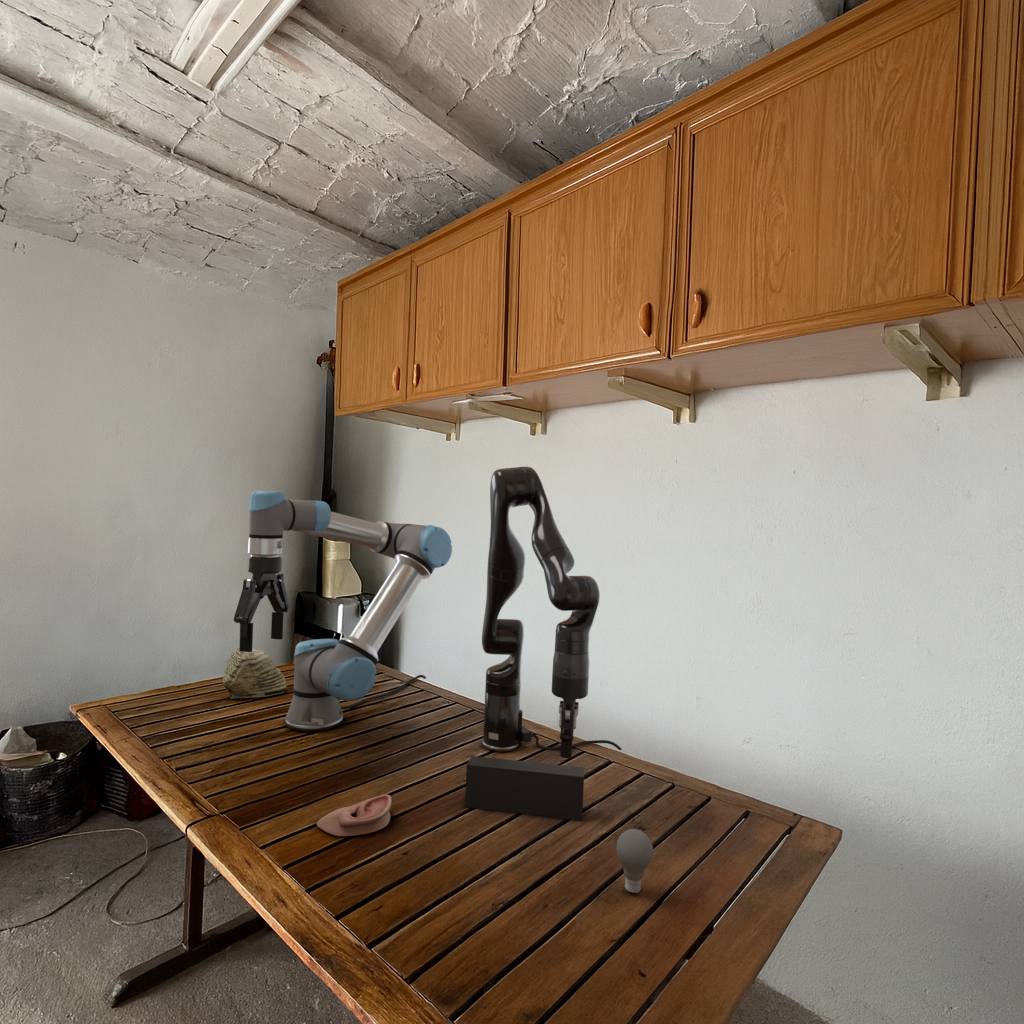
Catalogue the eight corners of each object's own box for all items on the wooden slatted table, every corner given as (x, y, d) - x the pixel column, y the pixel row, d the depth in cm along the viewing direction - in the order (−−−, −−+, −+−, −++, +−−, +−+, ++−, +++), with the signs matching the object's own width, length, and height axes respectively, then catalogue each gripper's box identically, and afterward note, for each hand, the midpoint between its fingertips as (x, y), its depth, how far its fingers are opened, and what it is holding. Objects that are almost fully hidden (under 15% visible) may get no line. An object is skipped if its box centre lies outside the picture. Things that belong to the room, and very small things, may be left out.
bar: (464, 807, 132) (466, 764, 132) (469, 796, 137) (471, 755, 137) (581, 820, 129) (583, 776, 128) (582, 809, 133) (584, 767, 133)
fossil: (218, 695, 195) (220, 647, 195) (278, 685, 208) (279, 640, 207) (228, 703, 189) (230, 653, 188) (289, 692, 201) (290, 645, 201)
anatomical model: (309, 810, 119) (337, 784, 131) (308, 831, 119) (337, 803, 131) (375, 821, 117) (398, 793, 128) (374, 842, 117) (397, 812, 128)
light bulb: (610, 879, 108) (613, 822, 108) (644, 879, 109) (647, 822, 109) (619, 902, 102) (622, 840, 102) (655, 901, 103) (658, 840, 103)
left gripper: (250, 561, 137) (246, 658, 138) (305, 552, 162) (301, 635, 162) (218, 559, 138) (215, 655, 139) (277, 551, 163) (274, 633, 163)
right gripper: (588, 683, 123) (584, 765, 124) (589, 664, 137) (585, 737, 138) (549, 680, 124) (546, 761, 125) (554, 661, 138) (551, 734, 139)
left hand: (261, 645), depth 150 cm, fingers open, 13 cm apart
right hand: (566, 748), depth 132 cm, fingers open, 8 cm apart
